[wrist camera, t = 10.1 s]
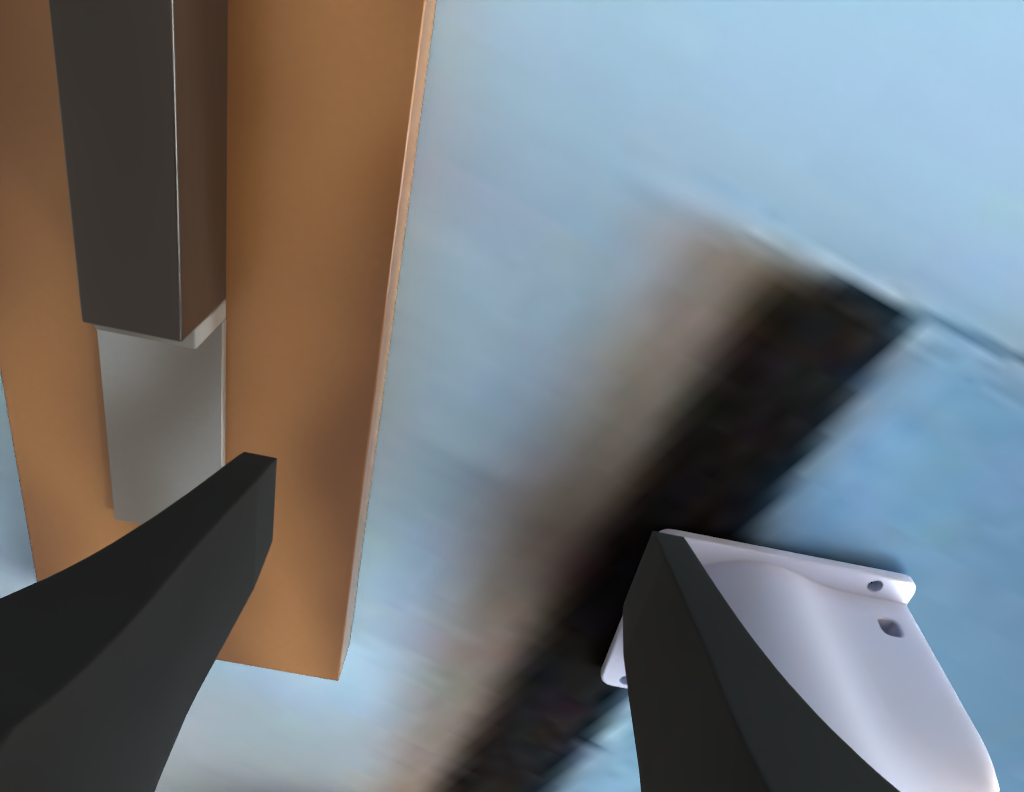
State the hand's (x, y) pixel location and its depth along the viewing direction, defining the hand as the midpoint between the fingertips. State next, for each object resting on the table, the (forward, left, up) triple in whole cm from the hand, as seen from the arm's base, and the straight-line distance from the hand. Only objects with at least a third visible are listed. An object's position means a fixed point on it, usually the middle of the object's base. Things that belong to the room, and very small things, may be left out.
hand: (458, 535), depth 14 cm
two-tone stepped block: (+9, 0, -8) cm, 12 cm away
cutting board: (+9, +2, -9) cm, 13 cm away
